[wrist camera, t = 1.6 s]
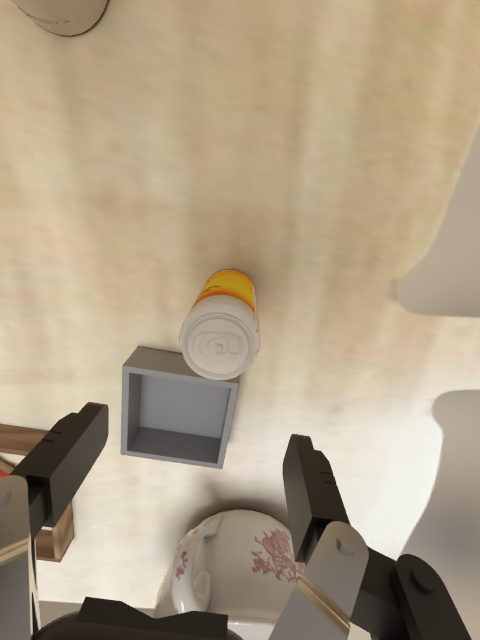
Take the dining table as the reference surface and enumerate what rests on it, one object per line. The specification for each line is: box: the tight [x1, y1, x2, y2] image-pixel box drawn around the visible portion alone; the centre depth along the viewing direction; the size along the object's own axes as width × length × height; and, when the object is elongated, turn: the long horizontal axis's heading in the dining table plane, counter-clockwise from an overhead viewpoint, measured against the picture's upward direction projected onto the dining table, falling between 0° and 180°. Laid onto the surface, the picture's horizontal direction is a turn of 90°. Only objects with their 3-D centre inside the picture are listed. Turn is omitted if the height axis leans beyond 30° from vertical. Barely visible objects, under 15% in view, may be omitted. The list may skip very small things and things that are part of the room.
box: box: [121, 346, 239, 469], centre depth 37 cm, size 14×14×5 cm
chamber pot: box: [153, 509, 305, 640], centre depth 40 cm, size 28×28×21 cm
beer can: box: [179, 270, 260, 380], centre depth 27 cm, size 6×6×15 cm
